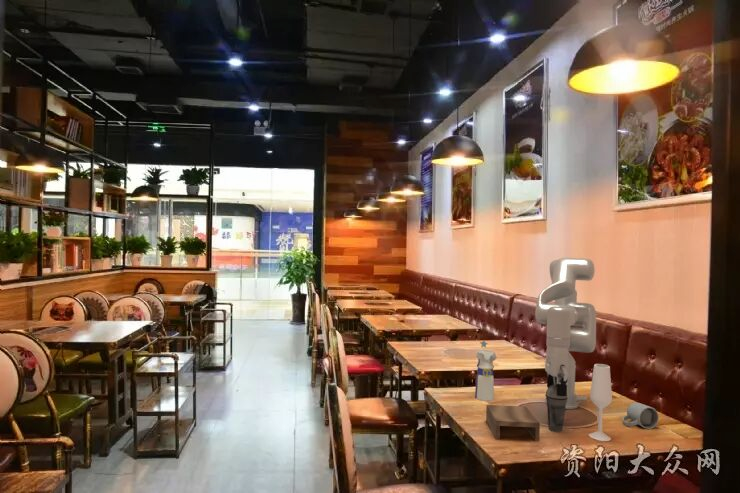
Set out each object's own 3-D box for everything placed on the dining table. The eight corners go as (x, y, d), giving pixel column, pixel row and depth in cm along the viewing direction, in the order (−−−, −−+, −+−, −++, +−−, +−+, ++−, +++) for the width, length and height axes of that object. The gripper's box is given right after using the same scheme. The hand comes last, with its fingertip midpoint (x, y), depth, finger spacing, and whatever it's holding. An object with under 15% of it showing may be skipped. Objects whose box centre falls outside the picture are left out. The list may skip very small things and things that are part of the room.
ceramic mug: (642, 420, 178) (643, 399, 178) (659, 428, 170) (659, 407, 170) (616, 421, 176) (616, 400, 176) (631, 430, 168) (632, 408, 168)
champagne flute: (584, 434, 162) (586, 364, 162) (598, 431, 165) (600, 362, 165) (600, 442, 156) (603, 368, 156) (615, 439, 159) (617, 367, 159)
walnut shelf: (525, 423, 171) (525, 406, 171) (539, 441, 155) (539, 422, 155) (486, 421, 172) (486, 404, 172) (495, 439, 156) (496, 420, 156)
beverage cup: (568, 434, 162) (570, 375, 162) (546, 432, 163) (547, 374, 163) (564, 426, 169) (566, 370, 169) (542, 424, 170) (544, 368, 170)
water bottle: (497, 401, 195) (499, 340, 195) (476, 401, 195) (478, 339, 195) (492, 395, 203) (494, 336, 203) (472, 394, 203) (474, 336, 203)
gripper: (539, 337, 175) (537, 384, 174) (555, 346, 157) (554, 398, 157) (560, 338, 174) (558, 385, 174) (578, 347, 157) (577, 399, 157)
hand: (556, 391), depth 165 cm, fingers open, 9 cm apart
